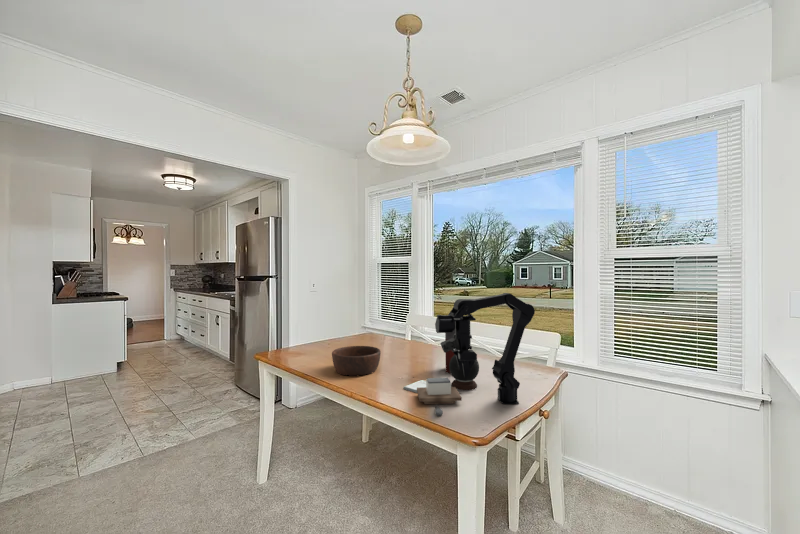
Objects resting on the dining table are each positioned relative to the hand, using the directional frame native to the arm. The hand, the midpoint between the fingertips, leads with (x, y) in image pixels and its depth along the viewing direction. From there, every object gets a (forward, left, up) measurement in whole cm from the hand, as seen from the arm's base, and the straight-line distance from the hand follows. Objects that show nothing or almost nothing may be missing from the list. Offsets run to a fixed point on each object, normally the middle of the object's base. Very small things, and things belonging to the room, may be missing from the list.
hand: (463, 372), depth 133 cm
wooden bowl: (+45, -48, -12) cm, 67 cm away
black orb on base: (-5, -21, -12) cm, 25 cm away
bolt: (+11, +7, -12) cm, 18 cm away
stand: (+9, -5, -12) cm, 16 cm away
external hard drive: (+15, -20, -13) cm, 28 cm away
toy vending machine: (-6, -45, -12) cm, 47 cm away
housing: (+9, -5, -9) cm, 14 cm away
